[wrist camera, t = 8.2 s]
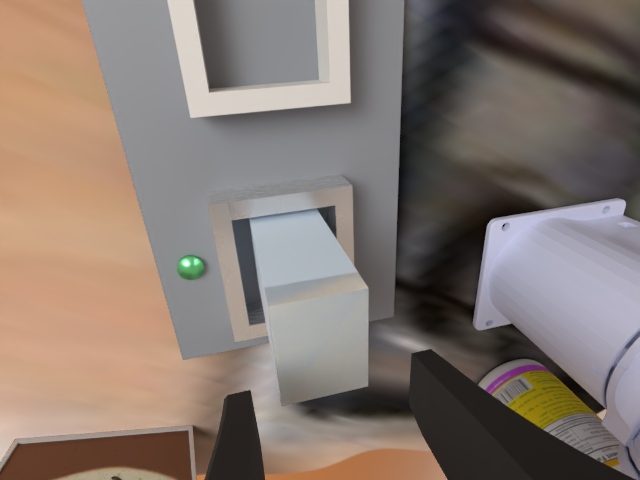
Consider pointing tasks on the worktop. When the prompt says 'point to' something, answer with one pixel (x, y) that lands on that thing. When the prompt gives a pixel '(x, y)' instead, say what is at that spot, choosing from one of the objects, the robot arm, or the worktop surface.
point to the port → (264, 202)
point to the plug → (310, 306)
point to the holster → (266, 96)
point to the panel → (250, 139)
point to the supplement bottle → (552, 408)
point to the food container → (104, 456)
